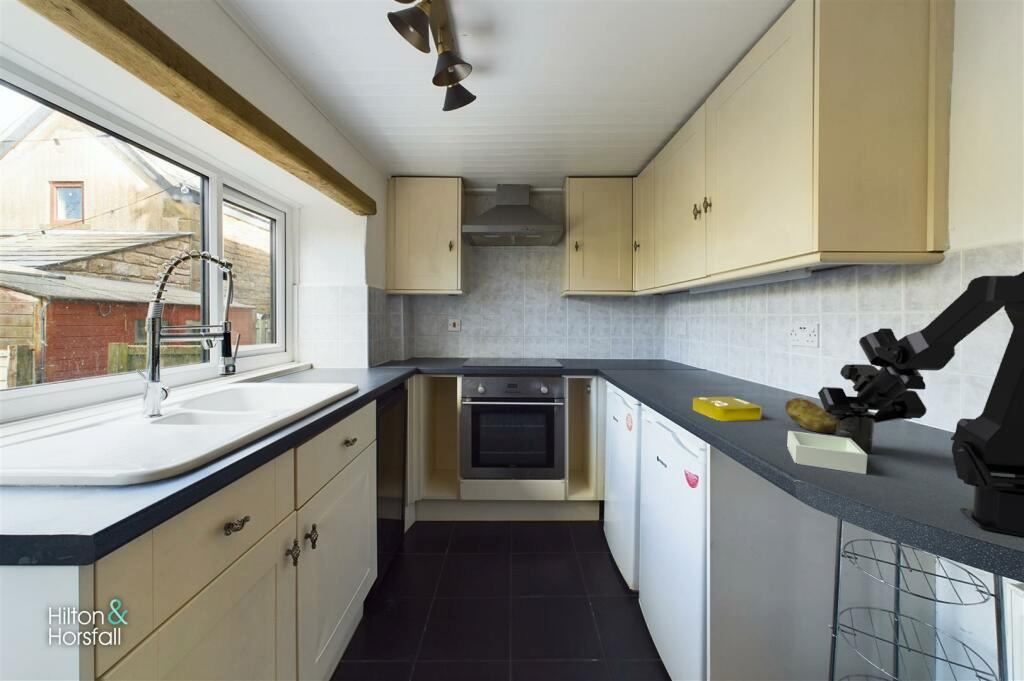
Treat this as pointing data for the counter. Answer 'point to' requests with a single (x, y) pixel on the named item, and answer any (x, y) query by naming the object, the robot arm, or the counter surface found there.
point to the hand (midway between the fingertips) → (851, 420)
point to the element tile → (727, 408)
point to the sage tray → (826, 452)
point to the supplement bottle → (857, 427)
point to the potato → (810, 415)
